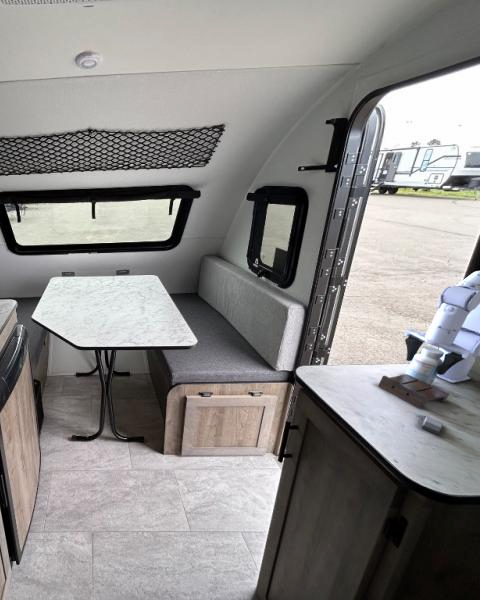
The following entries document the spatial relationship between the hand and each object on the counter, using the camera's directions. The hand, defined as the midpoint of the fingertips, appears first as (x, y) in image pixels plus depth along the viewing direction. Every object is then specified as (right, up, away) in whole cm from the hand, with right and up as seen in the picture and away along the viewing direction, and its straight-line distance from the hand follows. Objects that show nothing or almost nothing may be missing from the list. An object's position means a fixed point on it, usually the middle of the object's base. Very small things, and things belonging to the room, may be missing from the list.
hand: (424, 366), depth 99 cm
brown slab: (-9, -7, -4) cm, 12 cm away
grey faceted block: (-17, -11, -17) cm, 27 cm away
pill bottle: (0, -5, +2) cm, 5 cm away
